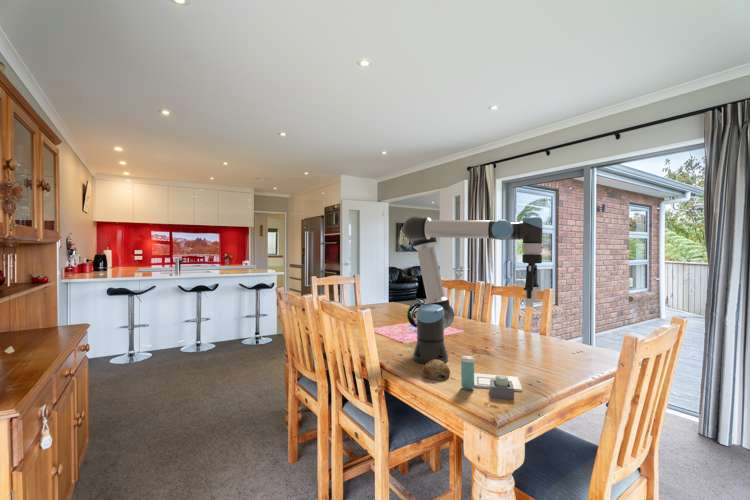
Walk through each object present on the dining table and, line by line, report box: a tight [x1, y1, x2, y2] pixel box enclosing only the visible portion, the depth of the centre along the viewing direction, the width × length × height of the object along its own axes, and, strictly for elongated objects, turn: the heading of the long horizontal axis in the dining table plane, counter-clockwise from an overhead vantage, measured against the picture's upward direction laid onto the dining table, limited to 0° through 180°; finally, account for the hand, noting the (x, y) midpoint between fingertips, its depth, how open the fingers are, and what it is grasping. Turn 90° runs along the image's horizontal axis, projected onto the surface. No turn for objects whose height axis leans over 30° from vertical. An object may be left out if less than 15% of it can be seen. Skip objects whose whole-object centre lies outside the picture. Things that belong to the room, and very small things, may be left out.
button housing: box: [489, 379, 515, 401], centre depth 118 cm, size 7×7×4 cm
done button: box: [495, 374, 508, 387], centre depth 118 cm, size 4×4×4 cm
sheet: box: [474, 372, 523, 393], centre depth 128 cm, size 16×12×1 cm
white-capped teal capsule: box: [460, 355, 475, 391], centre depth 123 cm, size 4×4×11 cm
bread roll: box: [422, 359, 451, 381], centre depth 135 cm, size 10×10×8 cm
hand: (531, 304), depth 148 cm, fingers open, 13 cm apart
